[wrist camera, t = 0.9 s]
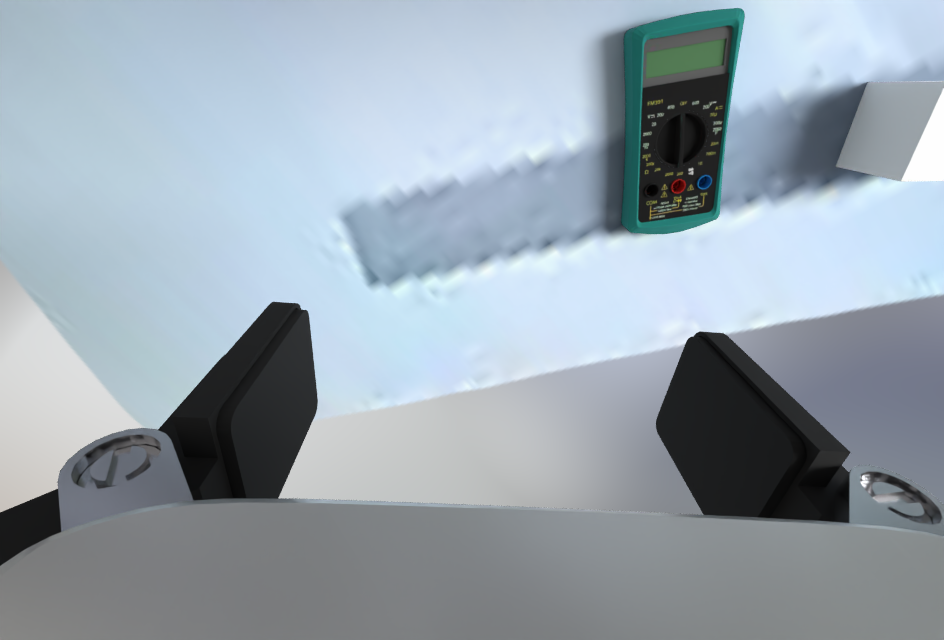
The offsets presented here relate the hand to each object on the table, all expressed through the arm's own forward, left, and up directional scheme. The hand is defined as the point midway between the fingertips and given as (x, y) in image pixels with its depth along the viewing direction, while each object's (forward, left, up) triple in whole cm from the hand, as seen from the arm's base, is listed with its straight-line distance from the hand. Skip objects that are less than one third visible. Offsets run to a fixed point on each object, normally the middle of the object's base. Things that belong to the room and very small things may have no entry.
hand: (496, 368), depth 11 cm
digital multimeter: (-15, +3, -28) cm, 32 cm away
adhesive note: (-31, +9, -27) cm, 42 cm away
